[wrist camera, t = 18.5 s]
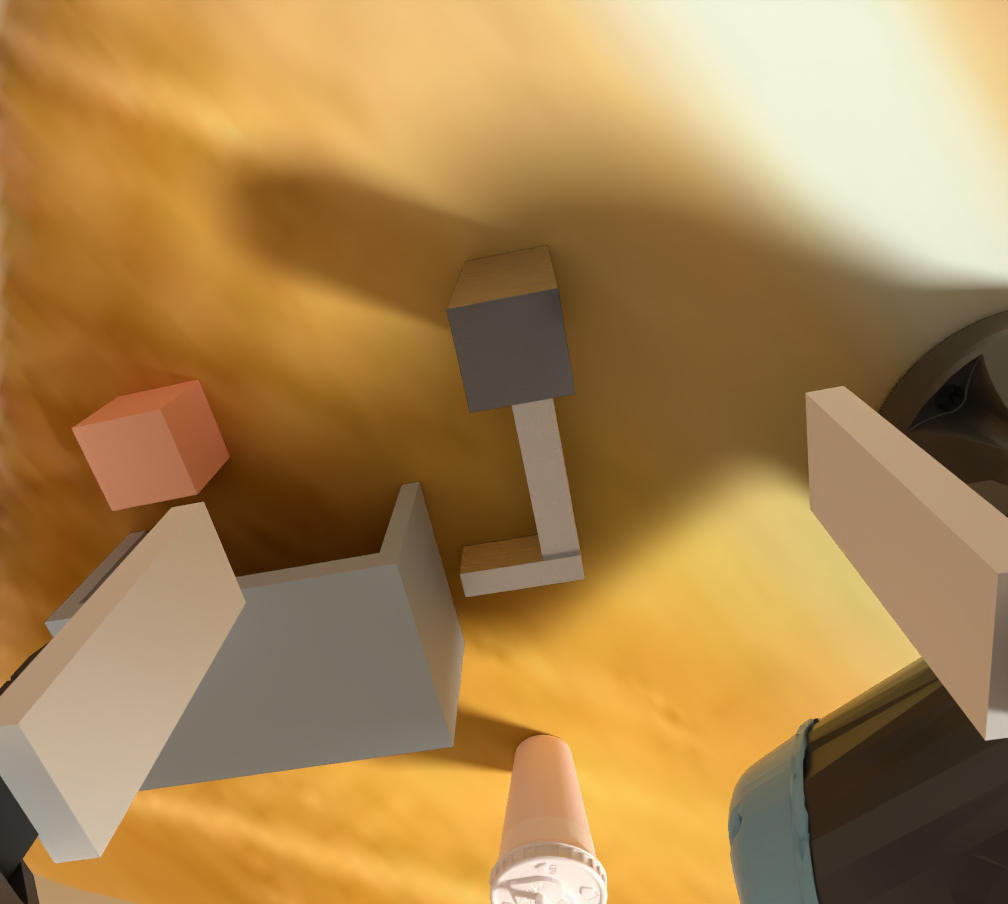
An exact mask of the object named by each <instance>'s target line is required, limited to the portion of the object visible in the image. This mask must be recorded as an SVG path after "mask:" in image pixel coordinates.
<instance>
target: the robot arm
mask: <svg viewBox="0 0 1008 904" xmlns="http://www.w3.org/2000/svg"><path fill="white" fill-rule="evenodd" d="M805 396H806V420H807V443H808V466H809V490H810V509H811V511H812V512H813V513H814V515H815V516H816V517H817V519H818V520H819V521H820V523H821V524H822V525H823V527H824V528H825V529H826V531H827V532H828V533H829V535H830V536H831V537H832V539H833V540H834V541H835V542H836V544H837V545H838V546H839V548H840V549H841V550H842V552H843V553H844V554H845V556H846V557H847V558H848V560H849V561H850V562H851V564H852V565H853V566H854V568H855V569H856V570H857V572H858V573H859V574H860V576H861V577H862V578H863V579H864V581H865V582H866V583H867V585H868V586H869V587H870V589H871V590H872V591H873V593H874V594H875V595H876V597H877V598H878V599H879V601H880V602H881V603H882V605H883V606H884V607H885V609H886V610H887V611H888V613H889V614H890V615H891V617H892V618H893V619H894V620H895V622H896V623H897V624H898V626H899V627H900V628H901V630H902V631H903V632H904V634H905V635H906V636H907V638H908V639H909V640H910V642H911V643H912V644H913V646H914V647H915V648H916V650H917V651H918V652H919V654H920V655H921V656H922V657H921V658H919V659H918V660H916V661H914V662H913V663H911V664H910V665H908V666H906V667H905V668H903V669H901V670H900V671H898V672H897V673H895V674H893V675H892V676H890V677H888V678H887V679H885V680H884V681H882V682H880V683H879V684H877V685H875V686H874V687H872V688H871V689H869V690H867V691H866V692H864V693H863V694H861V695H859V696H858V697H856V698H854V699H853V700H851V701H850V702H848V703H846V704H845V705H843V706H841V707H840V708H838V709H837V710H835V711H833V712H832V713H830V714H828V715H827V716H825V717H824V718H822V719H818V718H816V719H809V720H808V721H806V722H804V723H803V724H802V725H801V726H800V727H799V729H798V731H797V733H796V735H794V736H793V737H792V738H790V739H789V740H787V741H786V742H784V743H783V744H782V745H780V746H779V747H777V748H776V749H774V750H773V751H772V752H770V753H769V754H767V755H766V756H764V757H763V758H762V759H760V760H759V761H757V762H756V763H754V764H753V765H752V766H751V767H749V768H748V769H747V770H746V771H745V772H744V774H743V775H742V776H741V778H740V779H739V781H738V783H737V784H736V787H735V789H734V792H733V795H732V799H731V803H730V808H729V819H728V831H729V840H730V846H731V852H730V856H731V863H732V868H733V874H734V879H735V884H736V888H737V892H738V896H739V899H740V903H741V904H1008V311H1006V312H1002V313H999V314H996V315H994V316H991V317H988V318H986V319H983V320H981V321H979V322H976V323H974V324H972V325H970V326H968V327H966V328H964V329H962V330H961V331H959V332H957V333H955V334H954V335H952V336H951V337H949V338H948V339H946V340H945V341H943V342H942V343H940V344H939V345H938V346H936V347H935V348H934V349H932V350H931V351H930V352H929V353H927V354H926V355H925V356H924V357H923V358H922V359H920V360H919V361H918V362H917V363H916V364H915V365H914V366H913V367H912V368H911V369H910V370H909V371H908V373H907V374H906V375H905V376H904V377H903V378H902V379H901V381H900V382H899V383H898V384H897V386H896V387H895V388H894V390H893V391H892V393H891V394H890V395H889V397H888V399H887V400H886V402H885V403H884V405H883V407H882V409H881V411H880V413H879V414H878V413H877V412H876V411H874V410H873V409H872V408H871V407H869V406H868V405H867V404H866V403H864V402H863V401H862V400H861V399H859V398H858V397H857V396H856V395H855V394H853V393H852V392H851V391H850V390H848V389H847V388H846V387H845V386H840V387H834V388H829V389H823V390H817V391H812V392H806V393H805ZM245 604H246V601H245V599H244V597H243V594H242V592H241V589H240V587H239V585H238V582H237V580H236V577H235V575H234V573H233V570H232V568H231V565H230V563H229V561H228V558H227V556H226V554H225V551H224V549H223V546H222V544H221V542H220V539H219V537H218V534H217V532H216V530H215V527H214V525H213V522H212V520H211V518H210V515H209V513H208V510H207V508H206V506H205V503H204V502H199V503H194V504H188V505H183V506H177V507H172V508H171V509H170V510H169V511H168V512H167V513H166V514H165V515H164V516H163V518H162V519H161V520H160V521H159V522H158V523H157V524H156V525H155V526H154V527H153V529H152V530H151V531H150V532H149V533H148V534H147V535H146V536H145V537H144V539H143V540H142V541H141V542H140V543H139V544H138V545H137V546H136V547H135V548H134V550H133V551H132V552H131V553H130V554H129V555H128V556H127V557H126V558H125V559H124V561H123V562H122V563H121V564H120V565H119V566H118V567H117V568H116V569H115V570H114V572H113V573H112V574H111V575H110V576H109V577H108V578H107V579H106V580H105V581H104V583H103V584H102V585H101V586H100V587H99V588H98V589H97V590H96V591H95V592H94V594H93V595H92V596H91V597H90V598H89V599H88V600H87V601H86V602H85V604H84V605H83V606H82V607H81V608H80V609H79V610H78V611H77V612H76V613H75V615H74V616H73V617H72V618H71V619H70V620H69V621H68V622H67V623H66V624H65V626H64V627H63V628H62V629H61V630H60V631H59V632H58V633H57V634H56V635H55V637H54V638H53V639H52V640H51V641H50V642H48V643H47V644H46V645H44V646H43V647H42V648H40V649H39V650H38V651H36V652H35V653H34V654H32V655H31V656H29V658H28V659H27V660H26V661H25V662H24V663H23V664H22V665H21V666H20V667H19V668H18V670H17V671H16V672H15V673H14V674H13V675H12V676H11V681H6V683H5V684H4V685H3V686H2V687H1V688H0V904H39V900H38V896H37V890H36V885H35V881H34V876H33V874H32V872H31V871H30V869H29V868H28V867H27V865H26V864H25V862H24V861H23V857H24V856H25V854H26V853H27V851H28V850H29V848H30V847H31V846H32V844H33V843H34V841H35V840H36V838H37V837H38V838H39V840H40V841H41V843H42V844H43V846H44V847H45V849H46V850H47V852H48V853H49V855H50V856H51V858H52V859H53V861H54V863H61V862H69V861H76V860H84V859H91V858H99V857H101V855H102V854H103V852H104V850H105V848H106V847H107V845H108V843H109V841H110V840H111V838H112V836H113V834H114V833H115V831H116V829H117V827H118V826H119V824H120V822H121V820H122V819H123V817H124V815H125V813H126V812H127V810H128V808H129V806H130V805H131V803H132V801H133V799H134V798H135V796H136V794H137V792H138V791H139V789H140V787H141V785H142V784H143V782H144V780H145V778H146V777H147V775H148V773H149V771H150V770H151V768H152V766H153V764H154V763H155V761H156V759H157V757H158V756H159V754H160V752H161V750H162V749H163V747H164V745H165V743H166V742H167V740H168V738H169V736H170V735H171V733H172V731H173V729H174V728H175V726H176V724H177V722H178V721H179V719H180V717H181V715H182V714H183V712H184V710H185V708H186V707H187V705H188V703H189V701H190V700H191V698H192V696H193V695H194V693H195V691H196V689H197V688H198V686H199V684H200V682H201V681H202V679H203V677H204V675H205V674H206V672H207V670H208V668H209V667H210V665H211V663H212V661H213V660H214V658H215V656H216V654H217V653H218V651H219V649H220V647H221V646H222V644H223V642H224V640H225V639H226V637H227V635H228V633H229V632H230V630H231V628H232V626H233V625H234V623H235V621H236V619H237V618H238V616H239V614H240V612H241V611H242V609H243V607H244V605H245Z"/></svg>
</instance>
